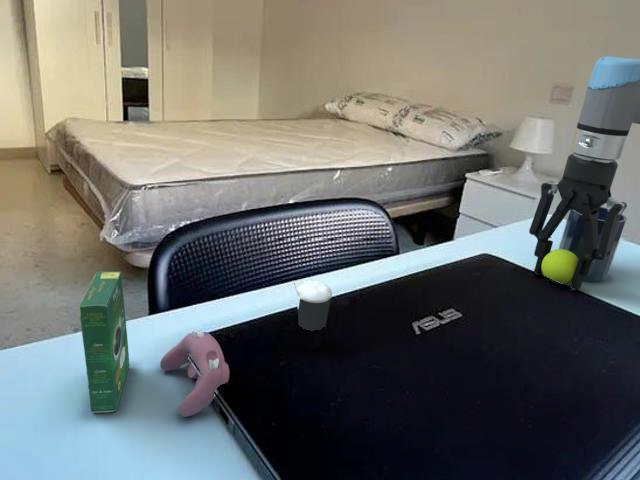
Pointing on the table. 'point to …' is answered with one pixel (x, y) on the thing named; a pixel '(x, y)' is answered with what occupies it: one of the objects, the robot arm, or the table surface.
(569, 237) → the tube
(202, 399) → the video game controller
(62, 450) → the table surface
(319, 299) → the milkshake
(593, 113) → the robot arm
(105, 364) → the coffee box
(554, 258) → the tennis ball
